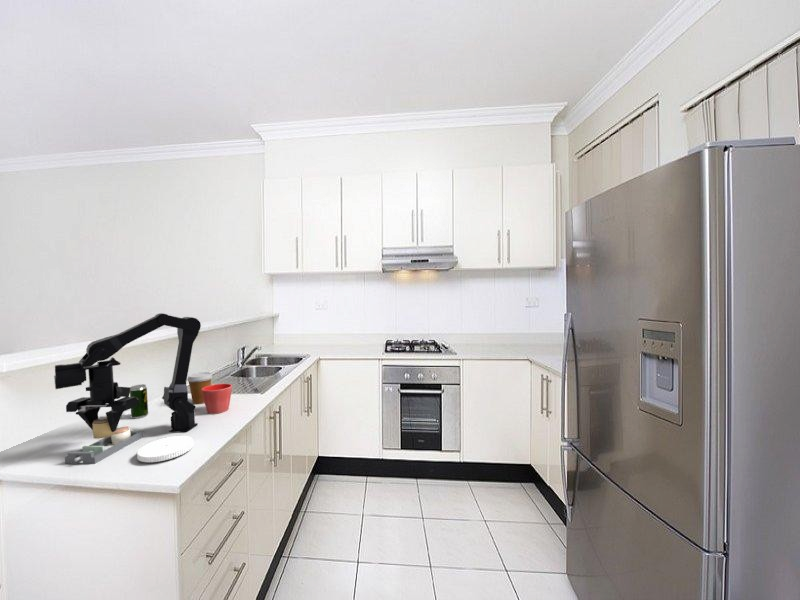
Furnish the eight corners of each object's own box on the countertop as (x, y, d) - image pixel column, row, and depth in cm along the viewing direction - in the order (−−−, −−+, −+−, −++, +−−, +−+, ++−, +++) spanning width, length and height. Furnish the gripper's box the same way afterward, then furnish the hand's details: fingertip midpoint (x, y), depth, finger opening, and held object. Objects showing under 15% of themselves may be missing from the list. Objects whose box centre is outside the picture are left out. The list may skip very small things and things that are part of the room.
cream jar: (134, 436, 118) (132, 425, 118) (126, 443, 114) (124, 431, 113) (117, 439, 117) (115, 427, 117) (108, 446, 112) (106, 434, 112)
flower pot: (212, 406, 148) (211, 383, 148) (237, 405, 148) (236, 382, 147) (196, 415, 138) (195, 391, 137) (224, 415, 137) (223, 390, 137)
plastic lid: (125, 464, 101) (124, 455, 101) (165, 442, 115) (164, 434, 114) (168, 467, 98) (167, 458, 98) (203, 444, 112) (203, 436, 112)
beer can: (130, 420, 135) (128, 389, 134) (131, 416, 139) (130, 385, 138) (148, 417, 137) (146, 386, 137) (148, 413, 142) (146, 383, 141)
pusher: (104, 454, 106) (104, 445, 106) (86, 464, 100) (85, 455, 100) (84, 454, 106) (84, 445, 106) (65, 464, 100) (64, 455, 100)
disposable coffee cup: (205, 405, 150) (204, 377, 149) (183, 405, 150) (182, 377, 149) (217, 398, 159) (216, 371, 159) (196, 398, 159) (195, 372, 159)
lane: (143, 436, 119) (143, 427, 119) (94, 463, 101) (94, 453, 101) (118, 436, 119) (117, 427, 119) (65, 463, 101) (64, 453, 101)
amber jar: (105, 438, 106) (104, 422, 106) (88, 438, 107) (87, 422, 106) (121, 431, 112) (120, 415, 112) (104, 431, 112) (103, 415, 112)
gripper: (150, 374, 116) (153, 421, 117) (96, 375, 117) (99, 421, 118) (122, 384, 105) (125, 435, 106) (62, 384, 106) (66, 435, 107)
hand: (104, 431), depth 109 cm, fingers closed on amber jar, 5 cm apart
